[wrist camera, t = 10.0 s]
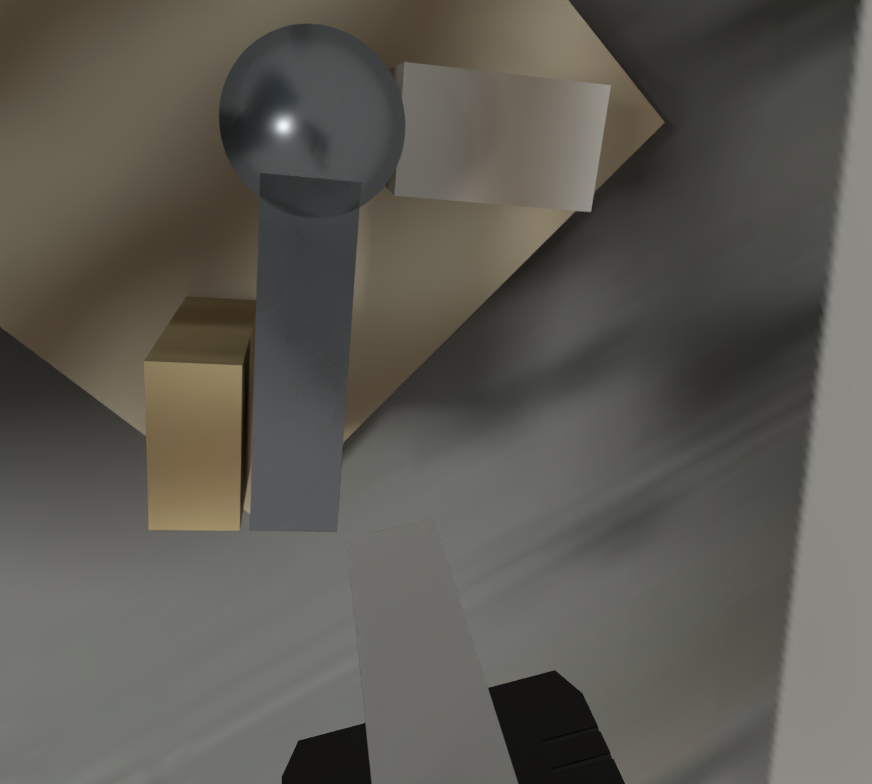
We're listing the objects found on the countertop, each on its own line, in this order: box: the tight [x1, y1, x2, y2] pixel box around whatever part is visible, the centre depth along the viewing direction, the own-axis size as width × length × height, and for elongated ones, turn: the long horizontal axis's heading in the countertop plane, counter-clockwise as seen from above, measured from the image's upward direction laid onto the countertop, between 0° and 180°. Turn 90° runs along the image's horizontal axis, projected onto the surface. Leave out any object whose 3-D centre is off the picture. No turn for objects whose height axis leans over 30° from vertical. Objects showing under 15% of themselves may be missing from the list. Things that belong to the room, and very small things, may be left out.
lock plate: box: [0, 0, 665, 531], centre depth 19 cm, size 15×17×8 cm
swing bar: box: [219, 24, 405, 532], centre depth 18 cm, size 11×4×2 cm, turn 174°
